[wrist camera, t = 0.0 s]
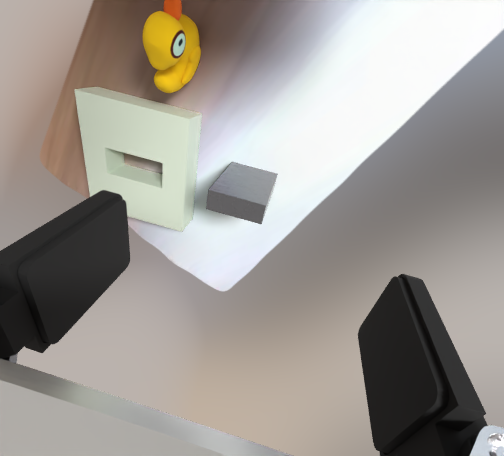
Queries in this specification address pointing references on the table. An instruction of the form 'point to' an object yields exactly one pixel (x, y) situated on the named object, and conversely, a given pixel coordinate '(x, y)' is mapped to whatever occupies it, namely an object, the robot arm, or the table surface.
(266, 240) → the table surface
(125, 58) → the table surface
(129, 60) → the table surface
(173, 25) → the duckling
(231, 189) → the brushed metal pillar
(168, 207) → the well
